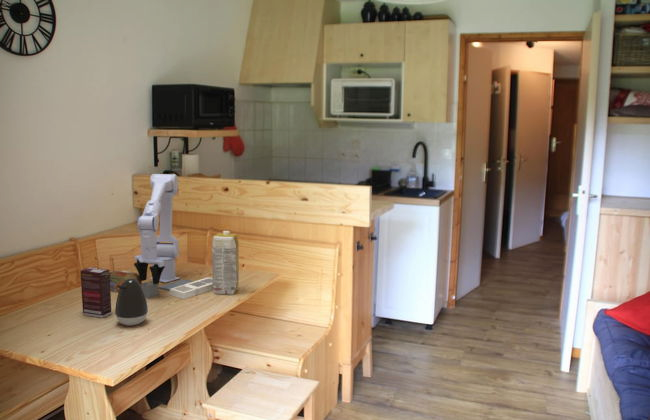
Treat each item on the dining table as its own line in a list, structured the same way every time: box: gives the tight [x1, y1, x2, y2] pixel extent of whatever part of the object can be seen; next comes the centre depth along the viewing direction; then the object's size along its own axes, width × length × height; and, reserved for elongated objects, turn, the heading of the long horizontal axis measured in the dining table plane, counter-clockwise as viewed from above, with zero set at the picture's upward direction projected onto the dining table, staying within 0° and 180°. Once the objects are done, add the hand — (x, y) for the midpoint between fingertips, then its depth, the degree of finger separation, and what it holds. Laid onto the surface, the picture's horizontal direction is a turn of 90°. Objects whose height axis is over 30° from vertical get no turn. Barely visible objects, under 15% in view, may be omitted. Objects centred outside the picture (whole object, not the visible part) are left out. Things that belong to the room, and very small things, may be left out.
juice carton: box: [211, 230, 240, 295], centre depth 221 cm, size 9×8×24 cm
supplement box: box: [80, 266, 112, 319], centre depth 194 cm, size 9×5×16 cm, turn 71°
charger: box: [141, 280, 160, 299], centre depth 216 cm, size 4×4×5 cm
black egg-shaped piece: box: [114, 278, 149, 327], centre depth 187 cm, size 10×10×15 cm
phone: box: [159, 278, 194, 292], centre depth 230 cm, size 7×14×1 cm, turn 151°
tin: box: [110, 269, 143, 294], centre depth 219 cm, size 15×3×8 cm, turn 68°
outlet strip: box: [168, 276, 214, 300], centre depth 225 cm, size 8×24×3 cm, turn 146°
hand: (149, 282), depth 215 cm, fingers open, 7 cm apart
